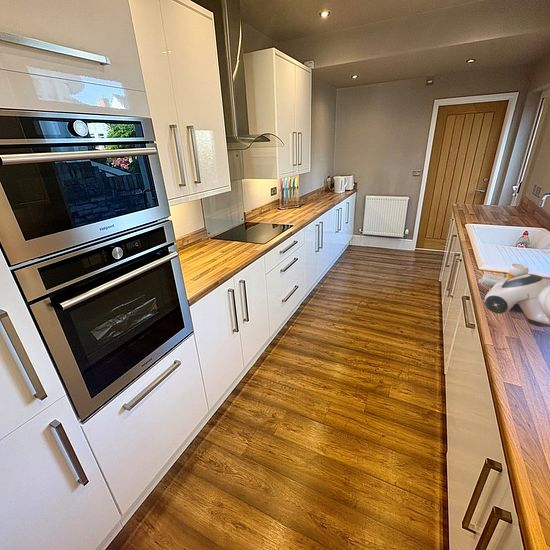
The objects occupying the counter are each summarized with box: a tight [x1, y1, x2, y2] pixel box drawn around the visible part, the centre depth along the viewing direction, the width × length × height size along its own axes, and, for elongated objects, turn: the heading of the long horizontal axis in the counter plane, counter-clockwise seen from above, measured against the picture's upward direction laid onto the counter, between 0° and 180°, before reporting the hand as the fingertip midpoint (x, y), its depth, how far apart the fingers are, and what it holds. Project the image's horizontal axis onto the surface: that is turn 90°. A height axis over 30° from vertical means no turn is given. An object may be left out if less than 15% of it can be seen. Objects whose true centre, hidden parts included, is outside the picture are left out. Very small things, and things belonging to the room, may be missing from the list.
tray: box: [489, 288, 524, 314], centre depth 124 cm, size 11×15×3 cm
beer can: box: [505, 263, 530, 279], centre depth 120 cm, size 6×6×15 cm
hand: (515, 280), depth 120 cm, fingers closed on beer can, 6 cm apart
